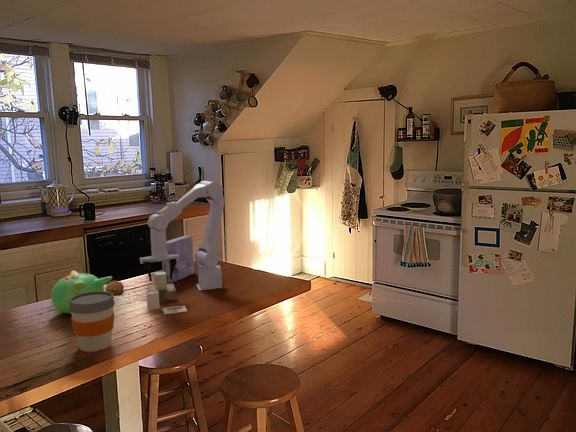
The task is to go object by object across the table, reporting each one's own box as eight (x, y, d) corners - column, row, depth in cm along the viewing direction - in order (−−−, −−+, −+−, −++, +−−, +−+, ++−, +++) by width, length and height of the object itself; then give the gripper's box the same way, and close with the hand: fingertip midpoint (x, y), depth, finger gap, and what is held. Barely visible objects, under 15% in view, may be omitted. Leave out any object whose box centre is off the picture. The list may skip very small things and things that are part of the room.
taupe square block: (173, 292, 198) (173, 283, 197) (176, 300, 188) (175, 290, 188) (147, 295, 195) (147, 286, 194) (149, 303, 185) (148, 293, 185)
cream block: (158, 305, 182) (157, 289, 181) (159, 308, 179) (158, 292, 178) (147, 306, 181) (146, 290, 180) (148, 310, 177) (147, 294, 176)
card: (184, 306, 181) (184, 305, 181) (187, 311, 175) (187, 310, 175) (162, 308, 178) (162, 308, 178) (164, 314, 172) (164, 313, 172)
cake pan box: (187, 271, 228) (185, 234, 225) (196, 272, 226) (194, 234, 223) (161, 283, 210) (159, 242, 207) (171, 284, 208) (169, 243, 205)
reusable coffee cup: (126, 340, 151) (123, 293, 148) (95, 357, 139) (91, 306, 137) (95, 334, 156) (91, 289, 153) (63, 350, 144) (58, 301, 142)
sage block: (165, 286, 193) (165, 271, 192) (166, 289, 190) (166, 274, 189) (155, 287, 192) (154, 272, 191) (156, 290, 188) (155, 275, 187)
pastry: (127, 293, 197) (126, 284, 196) (109, 296, 193) (108, 287, 193) (121, 287, 205) (120, 278, 204) (104, 290, 201) (103, 281, 201)
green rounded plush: (84, 301, 188) (81, 263, 186) (116, 307, 181) (114, 268, 178) (42, 316, 172) (38, 276, 170) (76, 324, 165) (73, 281, 162)
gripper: (139, 249, 182) (142, 284, 184) (179, 245, 187) (181, 280, 189) (138, 245, 189) (141, 279, 191) (177, 242, 193) (178, 275, 195)
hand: (160, 279), depth 190 cm, fingers open, 7 cm apart
